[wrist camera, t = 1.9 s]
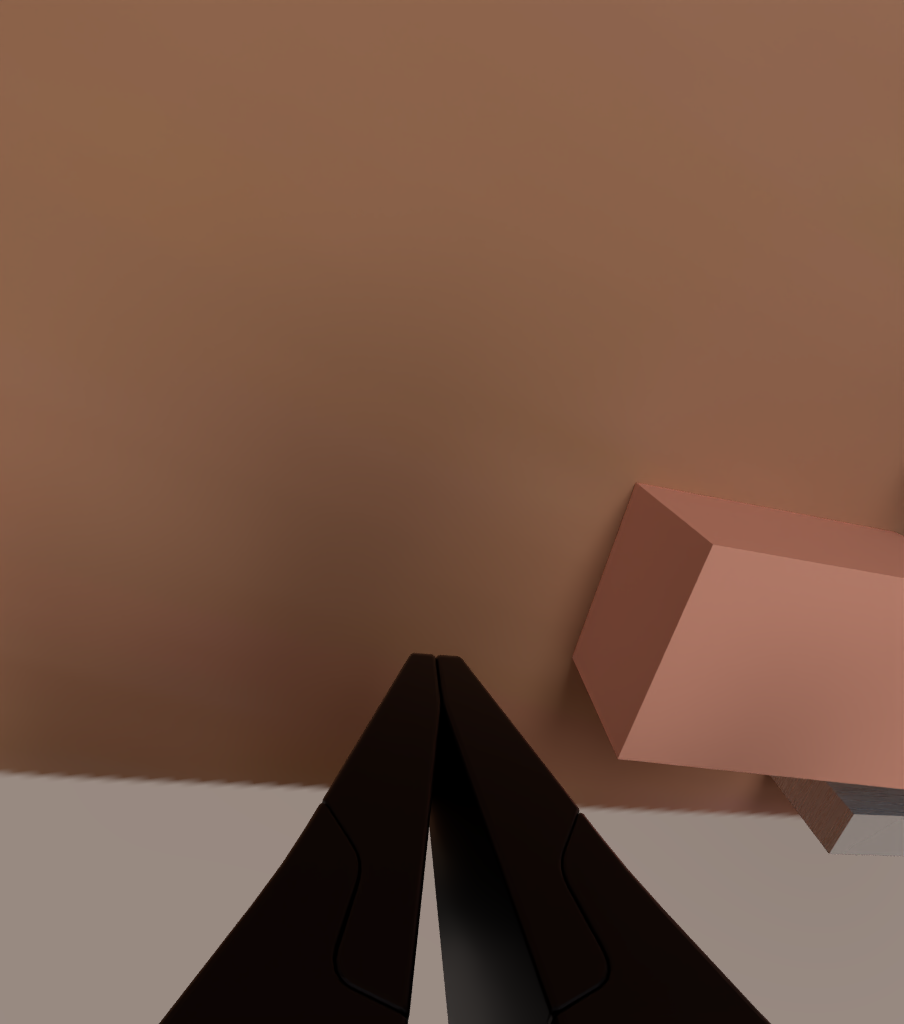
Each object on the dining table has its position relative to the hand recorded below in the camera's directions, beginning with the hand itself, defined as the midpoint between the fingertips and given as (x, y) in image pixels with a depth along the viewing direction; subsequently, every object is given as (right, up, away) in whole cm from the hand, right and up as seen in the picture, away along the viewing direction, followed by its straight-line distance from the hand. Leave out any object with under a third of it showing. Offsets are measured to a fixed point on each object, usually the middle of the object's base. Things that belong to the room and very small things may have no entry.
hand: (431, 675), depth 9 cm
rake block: (+7, +1, +5) cm, 9 cm away
